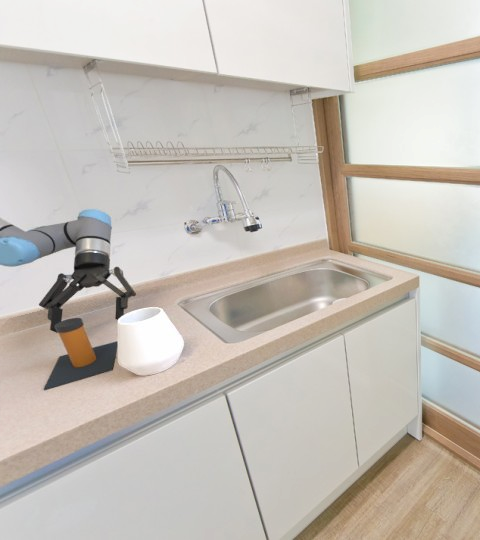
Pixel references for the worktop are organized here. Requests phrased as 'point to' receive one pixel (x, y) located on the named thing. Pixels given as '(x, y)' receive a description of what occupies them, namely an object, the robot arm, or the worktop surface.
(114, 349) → the mat
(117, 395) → the worktop surface
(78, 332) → the vial
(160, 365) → the white vase
